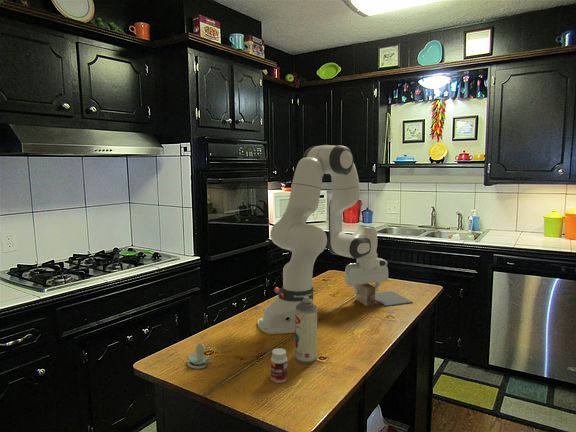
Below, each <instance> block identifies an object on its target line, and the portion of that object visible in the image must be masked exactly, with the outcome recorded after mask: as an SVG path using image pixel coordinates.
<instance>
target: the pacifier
mask: <svg viewBox="0 0 576 432" xmlns="http://www.w3.org/2000/svg"><path fill="white" fill-rule="evenodd" d="M205 350H206V349H205V345H204V344H203V343H198V344H197V345H196V347H195V352H193V353H190V354H189V356H188V360H189V361H188V362H187V366H188V367H189V368H192V369H194V370H201V369H204V368H206V366H207V364H206V363H207V362H210V360H212V357H206V358H204V353H205Z"/></svg>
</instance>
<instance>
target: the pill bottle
mask: <svg viewBox="0 0 576 432" xmlns="http://www.w3.org/2000/svg"><path fill="white" fill-rule="evenodd" d="M270 380H271V381H272V382H274V383H276V384H282V383H285V382H286V381H287V380H288V357H287V350H286V349H284V348H282V347H281V348H280V347H277V348H274V349H272V350H271V358H270Z"/></svg>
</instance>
